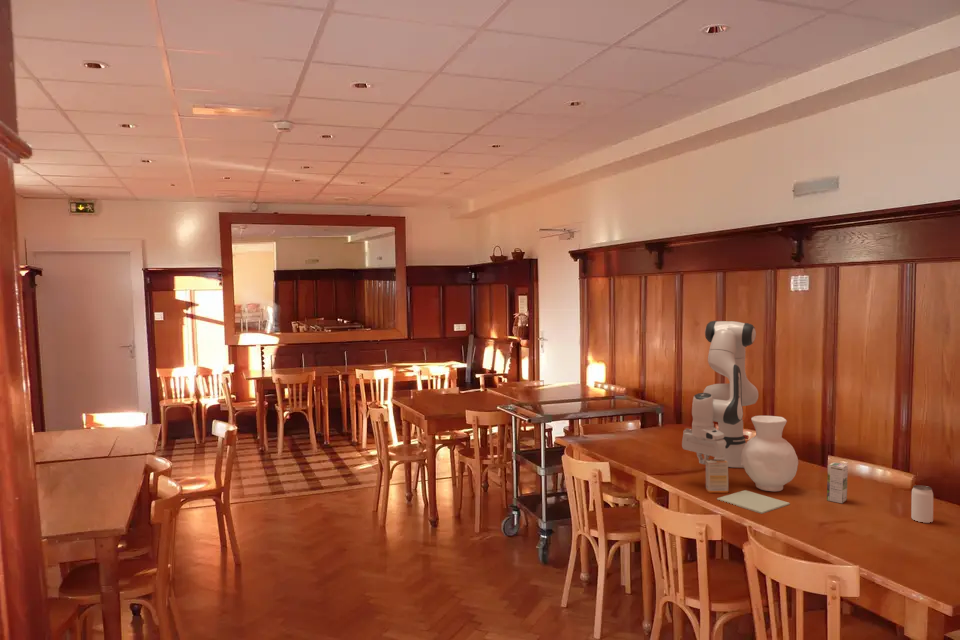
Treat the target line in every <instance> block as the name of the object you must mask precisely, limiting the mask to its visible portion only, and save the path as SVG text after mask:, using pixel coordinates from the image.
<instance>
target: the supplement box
mask: <svg viewBox="0 0 960 640" xmlns="http://www.w3.org/2000/svg"><path fill="white" fill-rule="evenodd" d="M705 490H706V491H707V493H709V494H713V493H716V494H718V493H721V494H722V493H725V494H729V467H728V462H727V461H726V460H725V459H714V458H713V459H710V458H708V459H706V464H705Z"/></svg>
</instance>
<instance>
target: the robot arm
mask: <svg viewBox="0 0 960 640" xmlns="http://www.w3.org/2000/svg"><path fill="white" fill-rule="evenodd" d="M704 336H705V340H706V341H707V342H708V343H710V345H709V349H708V355H707V356H708V357H707V363H708V366H709V367H710V368H711V369H712V370H713V371H714V372H715V373H717V374H719V375H722V376H723V377H725V378H727V379H728V381H729V383H714V384H710V385H707V386H706V387H705V388H704V389H703V392H698V393H696V394H694V396H692V397H693V398H692V402H691V403H692V404H691V405H692V406H691V416H692V422H691V428H685V429H684V430H683V432H682V433H683V434H682V439H681V440H682V441H681V447H682V449H683V450H686V451H690V452H694V453H696V457H697V459H698V463H699V464H701V465H706V459H710V456H711V457H713V459H725V460H726V461H727V462H728V468H740V469H741V468H743V469H744V466H743V463H742V457H741V454H742V450H743V448H744V445H745V444H746V443H747V441H746V440H749V439H750V436H749V435H748V434H747V435H746V434H744V420H743V417H744V416H743V415H744V409H743V407H745V406H751V405H755V404H756V403H757V402H758V399H759V390H758V388H757V387H756V386H755V384H753V383H752V382H751V381H749V379H748V377H747V373H746V348H747V347H749V346H751V345H753V344H754V343H755V342H754V341H755V339H756V336H757V332H756V327H755V326H754V325H753V324H752V323H749V322H748V323H747V322H740V321H731V320H730V321H725V320H720V321H719V320H711V321H709V322H708V323H707V324H706V326H705V329H704ZM714 422H717V425H718V426H717V427H718V429H717V428H716V427H715V423H714Z"/></svg>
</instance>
